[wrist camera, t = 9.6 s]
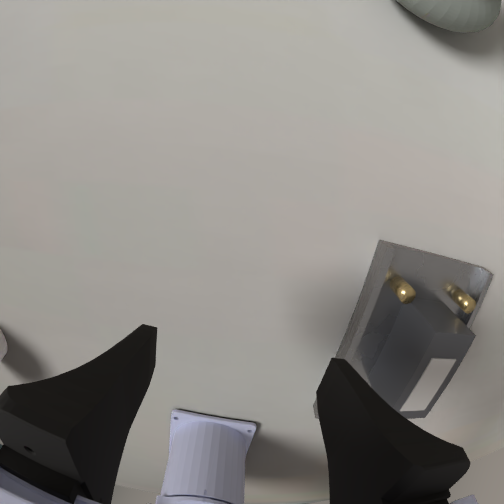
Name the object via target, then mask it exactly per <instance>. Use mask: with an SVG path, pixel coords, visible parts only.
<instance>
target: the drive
mask: <svg viewBox="0 0 504 504" xmlns="http://www.w3.org/2000/svg"><path fill="white" fill-rule="evenodd" d="M475 336H476V335H475V334H474V333H473V332H472V331H471V330H470V329H469V328H468V327H467V326H466V325H465V324H464V323H463V322H462V321H461V320H460V319H459V318H458V317H457V316H456V315H455V314H454V313H453V311H452V310H451V309H450V308H449V307H448V306H447V305H446V304H445V303H442V302H436V301H430V300H424V299H418V298H414V300H413V301H412V302H411V303H409V304H404V303H403V305H402V307H401V309H400V312H399V314H398V316H397V319H396V321H395V323H394V325H393V328H392V330H391V332H390V334H389V336H388V339H387V341H386V343H385V345H384V347H383V349H382V351H381V353H380V355H379V357H378V359H377V361H376V363H375V365H374V367H373V369H372V371H371V373H370V375H369V377H368V379H369V381H370V384H371V386H372V389H373V390H374V391H375V392H376V393H377V394H378V395H379V396H380V397H381V398H382V399H383V400H385V401H386V402H387V403H388V404H389V405H390V406H391V407H392V408H393V409H395V410H396V411H397V412H398V413H400V414H401V415H402V416H403V417H405V418H406V419H410V418H425V417H426V416H427V414H428V413H429V411H430V410H431V409H432V407H433V406H434V404H435V403H436V401H437V400H438V398H439V397H440V395H441V394H442V392H443V391H444V389H445V388H446V386H447V385H448V383H449V382H450V380H451V378H452V377H453V375H454V373H455V372H456V370H457V368H458V367H459V365H460V363H461V362H462V360H463V358H464V356H465V355H466V353H467V351H468V349H469V347H470V346H471V344H472V342H473V340H474V338H475Z"/></svg>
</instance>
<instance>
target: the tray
mask: <svg viewBox="0 0 504 504" xmlns="http://www.w3.org/2000/svg"><path fill="white" fill-rule="evenodd" d="M493 275H494V274H492V273H491V272H489V271H488V270H486V269H485V268H484V267H481V266H477V265H474V264H470V263H466V262H463V261H459V260H456V259H452V258H448V257H444V256H441V255H437V254H433V253H429V252H426V251H422V250H418V249H414V248H410V247H406V246H402V245H398V244H394V243H390V242H386V241H382V240H379V242H378V245H377V248H376V251H375V254H374V257H373V260H372V263H371V266H370V269H369V272H368V275H367V278H366V281H365V284H364V286H363V289H362V292H361V295H360V297H359V300H358V303H357V305H356V308H355V311H354V313H353V316H352V318H351V321H350V323H349V326H348V328H347V331H346V333H345V336H344V338H343V341H342V343H341V345H340V348H339V350H338V352H337V355H336V357H335V358H340V359H345V360H346V361H347V362H348V363H349V364H350V365H351V366H352V367H353V368H354V369H355V370H356V371H357V372H358V373H359V374H360V376H361V377H362V378H363V379H364V380H365V381H366V382H367V383H368V384H369V385H370V386H371V384H370V381H369V379H368V377H369V375H370V373H371V371H372V369H373V367H374V365H375V363H376V361H377V359H378V357H379V355H380V353H381V351H382V349H383V347H384V345H385V343H386V341H387V339H388V336H389V334H390V332H391V330H392V328H393V325H394V323H395V321H396V319H397V316H398V314H399V312H400V309H401V307H402V305H403V303H404V304H409V303H411V302H412V301H413V300H414V298H418V299H424V300H430V301H436V302H442V303H445V304H446V305H447V306H448V307H449V308H450V309H451V310H452V311H453V313H454V314H455V315H456V316H457V317H458V318H459V319H460V320H461V321H462V322H463V323H464V324H465V325H466V326H467V327H468V328H469V329H470V327H471V325H472V323H473V321H474V319H475V317H476V315H477V312H478V310H479V308H480V306H481V304H482V301H483V299H484V297H485V294H486V292H487V290H488V287H489V285H490V282H491V280H492V277H493ZM371 388H372V386H371ZM313 408H314V413H315V418H318V419H319V416H318V409H317V399H316V401H315V403H314V405H313ZM411 419H414V418H411Z"/></svg>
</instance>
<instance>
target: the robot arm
mask: <svg viewBox="0 0 504 504" xmlns="http://www.w3.org/2000/svg"><path fill="white" fill-rule="evenodd" d="M156 340H157V327H153V326H149V325H144V324H142V325H141V326H139V327H138V328H137V329H136V330H134V331H133V332H132V333H131V334H129V335H128V336H127V337H125V338H124V339H123V340H122V341H120V342H119V343H117V344H116V345H115V346H113V347H112V348H110V349H109V350H108V351H106V352H104V353H103V354H101V355H100V356H98V357H97V358H95V359H93V360H91V361H90V362H88V363H86V364H84V365H82V366H80V367H78V368H76V369H73V370H71V371H68V372H66V373H63V374H60V375H58V376H55V377H52V378H48V379H45V380H41V381H37V382H32V383H27V384H21V385H14V386H8V387H7V388H6V389H5V390H4V392H3V393H2V394H1V395H0V439H1V440H2V442H3V444H4V445H3V446H2V448H1V449H0V504H111V500H112V495H113V490H114V486H115V481H116V477H117V473H118V468H119V465H120V461H121V457H122V453H123V450H124V446H125V443H126V439H127V436H128V433H129V430H130V428H131V425H132V423H133V421H134V418H135V416H136V414H137V412H138V409H139V407H140V405H141V403H142V401H143V398H144V396H145V394H146V392H147V389H148V387H149V385H150V381H151V378H152V375H153V372H154V368H155V361H156ZM316 394H317V409H318V416H319V421H320V425H321V430H322V435H323V439H324V444H325V448H326V453H327V459H328V469H329V487H330V504H449V503H448V501H447V498H449V497H450V495H451V494H450V492H449V488H451V487H452V486H453V485H454V484H455V483H456V482H457V481H458V480H459V479H460V478H461V477H462V476H463V475H464V474H465V473H466V472H467V470H468V469H469V467H470V461H469V459H468V457H467V455H466V453H465V451H464V449H463V448H462V447H459V446H457V445H454V444H451V443H449V442H446V441H444V440H442V439H440V438H438V437H436V436H434V435H432V434H430V433H428V432H426V431H424V430H423V429H421V428H419V427H418V426H416V425H415V424H413V423H412V422H410V421H409V420H407V419H406V418H405V417H403V416H402V415H401V414H400V413H398V412H397V411H396V410H395V409H393V408H392V407H391V406H390V405H389V404H388V403H387V402H386V401H385V400H383V399H382V398H381V397H380V396H379V395H378V394H377V393H376V392H375V391H374V390H373V389H372V388H371V386H370V385H369V384H368V383H367V382H366V381H365V380H364V379H363V378H362V377H361V376H360V374H359V373H358V372H357V371H356V370H355V369H354V368H353V367H352V366H351V365H350V364H349V363H348V362H347V361H346V360H345V359H340V358H331V361H330V363H329V365H328V367H327V370H326V372H325V374H324V376H323V379H322V381H321V383H320V385H319V387H318V390H317V392H316ZM255 431H256V424H255V423H252V422H245V421H238V420H231V419H225V418H219V417H213V416H207V415H202V414H197V413H192V412H187V411H182V410H177V409H175V410H172V413H171V428H170V448H169V459H168V463H167V468H166V472H165V476H164V481H163V485H162V490H161V494H160V496H159V495H157V498H156V502H155V504H244V488H245V457H246V454H247V452H248V449H249V446H250V444H251V441H252V439H253V436H254V433H255ZM147 504H151V503H147ZM450 504H478V503H477V500H476V498H475V496H474V495H470V496H467V497H464V498H461V499H458V500H456V501H454V502H452V503H450Z"/></svg>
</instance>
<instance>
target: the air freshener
mask: <svg viewBox="0 0 504 504" xmlns="http://www.w3.org/2000/svg"><path fill="white" fill-rule="evenodd" d="M396 1H397V2H399V3H400V4H401V5H402V6H404V7H405V8H406V9H407V10H409V11H410V12H412V13H413V14H415V15H416V16H418V17H419V18H421V19H423V20H425V21H427V22H428V23H431V24H433V25H435V26H437V27H440V28H443V29H446V30H450V31H454V32H461V33H470V32H477V31H480V30H483V29H485V28H487V27H488V26H490V25H491V24H492V23H493V22H494V21H495V20H496V18H497V17H498V15H499V12H500V7H501V0H396Z"/></svg>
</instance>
